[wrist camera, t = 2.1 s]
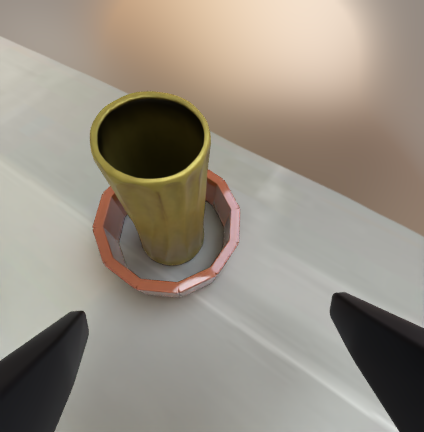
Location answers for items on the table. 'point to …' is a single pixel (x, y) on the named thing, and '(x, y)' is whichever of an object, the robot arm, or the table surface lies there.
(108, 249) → the terracotta ring
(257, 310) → the table surface
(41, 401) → the robot arm
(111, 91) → the table surface
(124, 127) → the vase
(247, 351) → the table surface
